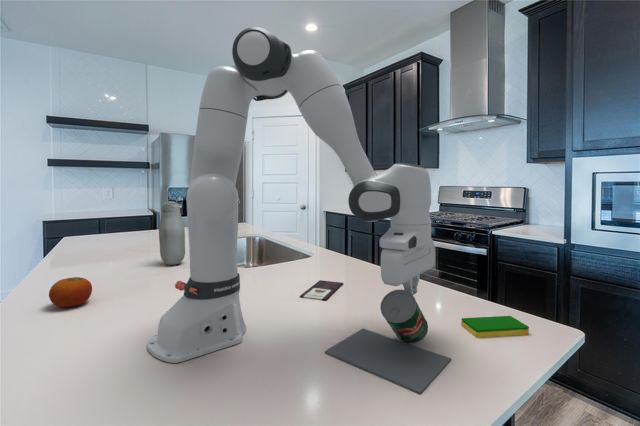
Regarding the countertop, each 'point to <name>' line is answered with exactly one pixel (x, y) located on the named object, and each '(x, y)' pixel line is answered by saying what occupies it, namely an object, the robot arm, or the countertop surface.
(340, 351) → the rubber mat
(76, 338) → the countertop surface
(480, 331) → the dish sponge
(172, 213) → the grey bottle
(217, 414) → the countertop surface
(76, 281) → the fruit
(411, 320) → the canned tomato
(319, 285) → the chocolate bar
